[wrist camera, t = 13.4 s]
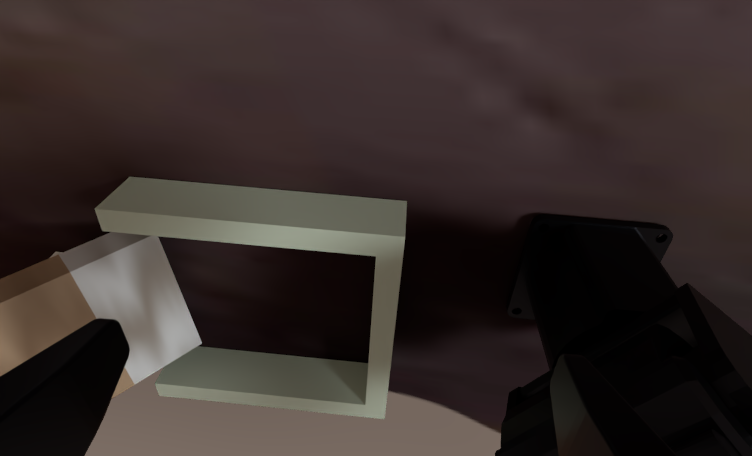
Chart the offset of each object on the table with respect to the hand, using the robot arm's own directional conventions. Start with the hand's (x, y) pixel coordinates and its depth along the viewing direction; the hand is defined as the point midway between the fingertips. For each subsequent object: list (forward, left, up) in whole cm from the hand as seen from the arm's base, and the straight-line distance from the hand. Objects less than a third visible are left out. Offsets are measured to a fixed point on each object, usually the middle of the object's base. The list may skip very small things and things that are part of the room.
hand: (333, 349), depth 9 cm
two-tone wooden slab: (+10, -11, -12) cm, 19 cm away
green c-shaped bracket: (+11, -5, -13) cm, 18 cm away
